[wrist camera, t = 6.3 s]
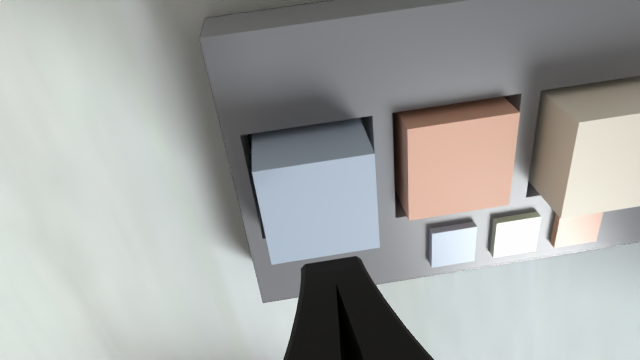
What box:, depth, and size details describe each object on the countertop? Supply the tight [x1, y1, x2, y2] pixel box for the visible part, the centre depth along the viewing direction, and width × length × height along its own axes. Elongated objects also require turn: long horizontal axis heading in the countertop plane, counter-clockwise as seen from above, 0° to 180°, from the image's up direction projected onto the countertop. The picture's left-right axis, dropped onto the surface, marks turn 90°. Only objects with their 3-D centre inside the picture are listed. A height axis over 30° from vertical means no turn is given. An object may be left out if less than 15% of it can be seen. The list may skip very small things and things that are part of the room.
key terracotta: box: [392, 96, 520, 221], centre depth 17 cm, size 3×3×2 cm
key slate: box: [252, 118, 380, 265], centre depth 16 cm, size 3×3×2 cm
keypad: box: [199, 0, 640, 303], centre depth 17 cm, size 19×10×2 cm, turn 96°
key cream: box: [528, 76, 640, 219], centre depth 16 cm, size 3×3×2 cm
